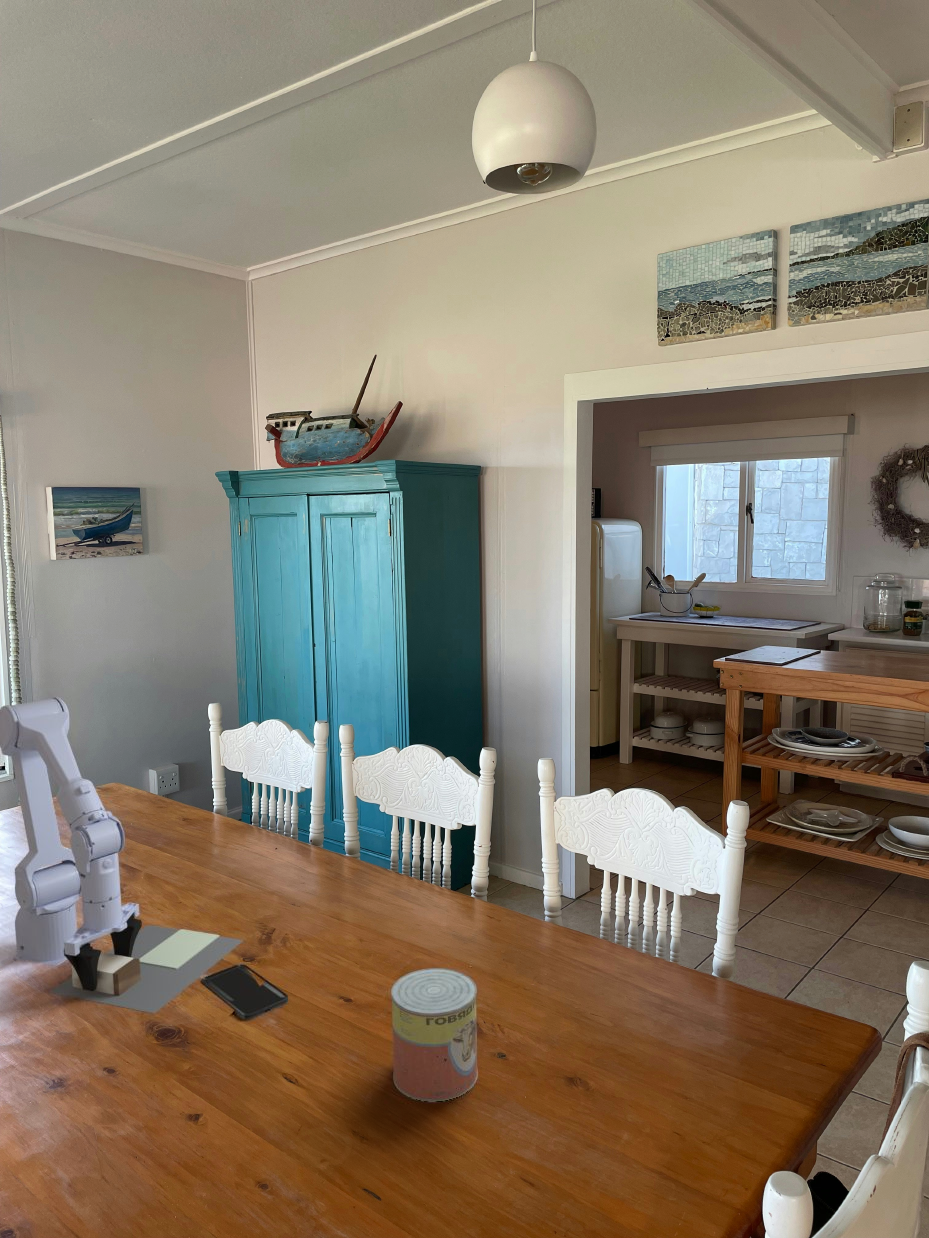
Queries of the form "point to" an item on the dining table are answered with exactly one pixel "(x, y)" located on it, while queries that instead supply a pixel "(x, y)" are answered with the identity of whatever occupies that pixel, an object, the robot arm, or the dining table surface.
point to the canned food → (434, 1034)
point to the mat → (155, 973)
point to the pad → (178, 949)
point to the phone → (245, 991)
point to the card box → (113, 974)
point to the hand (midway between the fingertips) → (106, 977)
